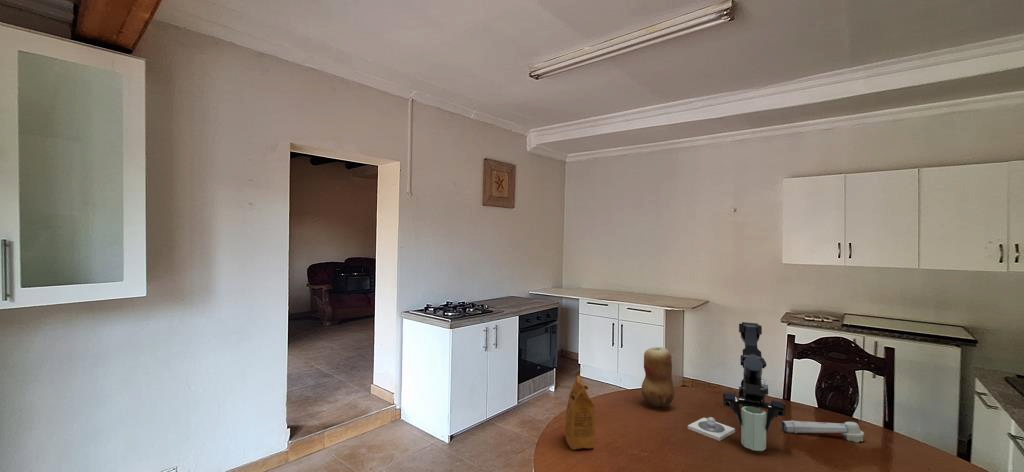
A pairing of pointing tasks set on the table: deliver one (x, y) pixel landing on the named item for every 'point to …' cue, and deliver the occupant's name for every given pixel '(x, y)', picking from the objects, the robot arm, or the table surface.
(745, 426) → the sleeve
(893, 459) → the table surface
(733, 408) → the robot arm
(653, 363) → the butternut squash
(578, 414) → the coffee package
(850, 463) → the table surface
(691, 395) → the table surface
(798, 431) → the toothbrush head
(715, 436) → the post board
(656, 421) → the table surface
